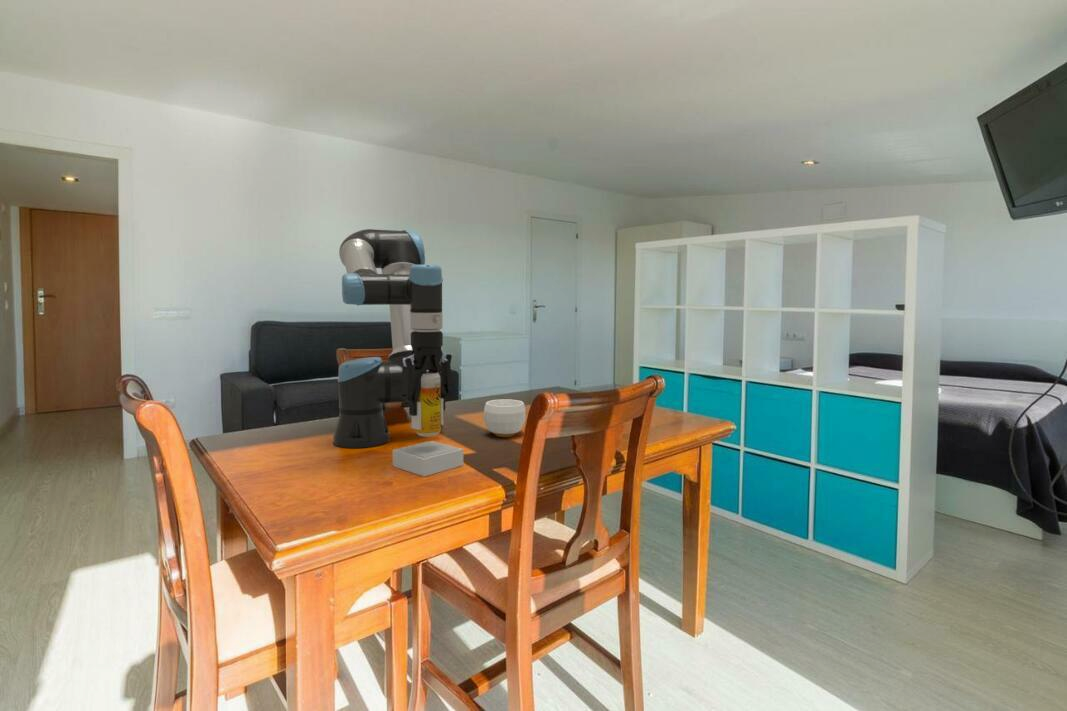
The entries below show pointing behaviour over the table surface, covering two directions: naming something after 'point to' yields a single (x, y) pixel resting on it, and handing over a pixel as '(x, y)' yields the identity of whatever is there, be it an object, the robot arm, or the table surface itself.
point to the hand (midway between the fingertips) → (427, 426)
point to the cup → (504, 416)
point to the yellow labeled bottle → (430, 405)
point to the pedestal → (427, 458)
